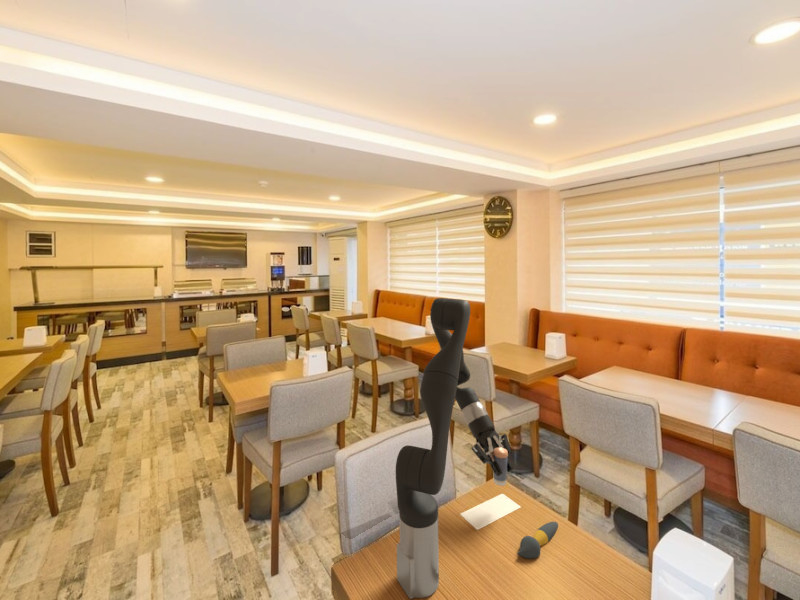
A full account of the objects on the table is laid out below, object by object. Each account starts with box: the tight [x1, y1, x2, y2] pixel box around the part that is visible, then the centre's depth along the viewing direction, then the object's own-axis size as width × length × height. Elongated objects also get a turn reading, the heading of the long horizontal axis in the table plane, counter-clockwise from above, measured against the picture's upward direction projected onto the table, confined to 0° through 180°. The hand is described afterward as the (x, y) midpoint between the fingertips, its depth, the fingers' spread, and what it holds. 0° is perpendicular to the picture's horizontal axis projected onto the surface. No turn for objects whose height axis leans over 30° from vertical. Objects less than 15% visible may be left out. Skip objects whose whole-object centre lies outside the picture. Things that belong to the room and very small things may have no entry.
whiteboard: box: [459, 493, 522, 531], centre depth 108 cm, size 20×9×1 cm, turn 120°
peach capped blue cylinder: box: [492, 447, 509, 487], centre depth 108 cm, size 4×4×10 cm
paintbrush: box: [516, 521, 559, 560], centre depth 96 cm, size 20×5×5 cm, turn 136°
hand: (505, 472), depth 107 cm, fingers closed on peach capped blue cylinder, 4 cm apart
